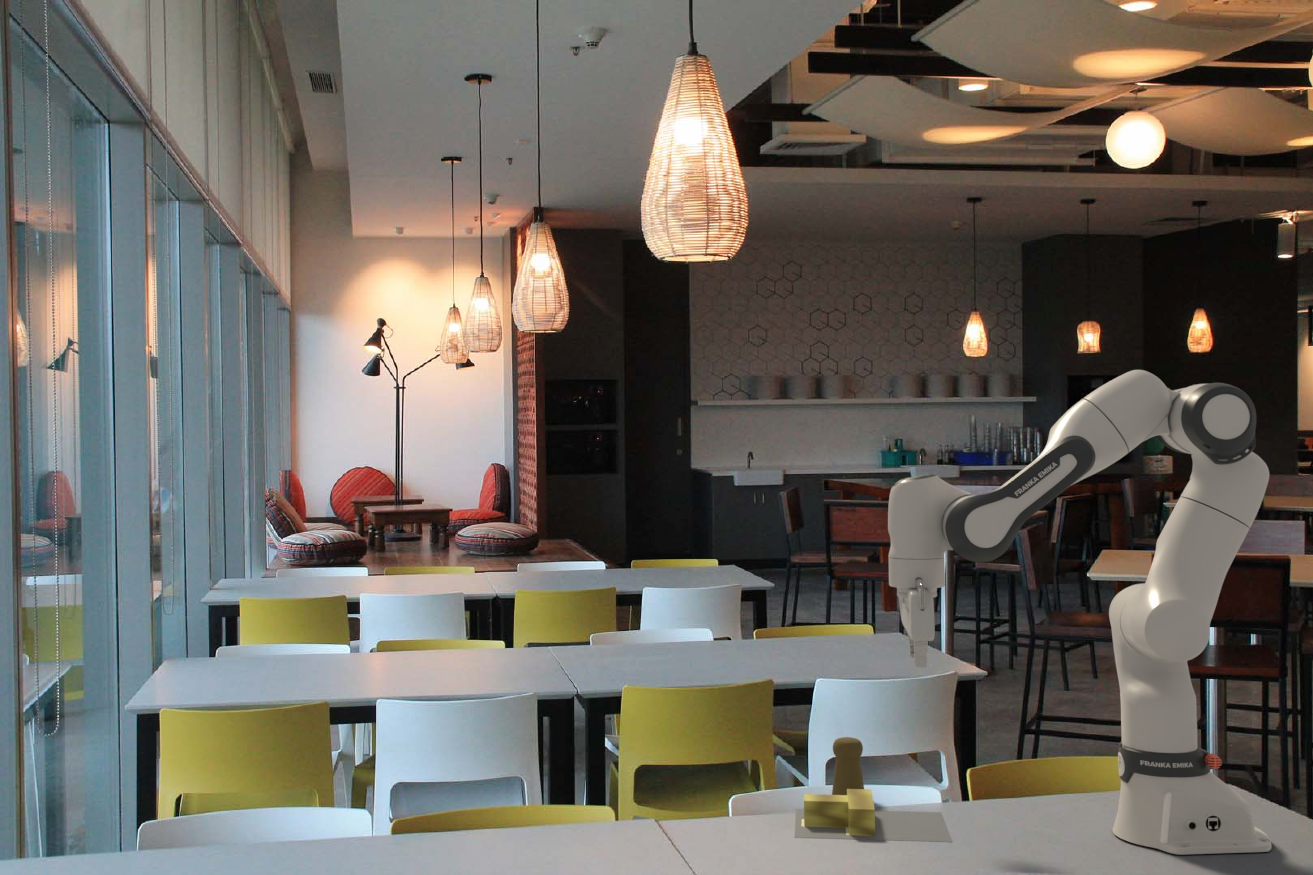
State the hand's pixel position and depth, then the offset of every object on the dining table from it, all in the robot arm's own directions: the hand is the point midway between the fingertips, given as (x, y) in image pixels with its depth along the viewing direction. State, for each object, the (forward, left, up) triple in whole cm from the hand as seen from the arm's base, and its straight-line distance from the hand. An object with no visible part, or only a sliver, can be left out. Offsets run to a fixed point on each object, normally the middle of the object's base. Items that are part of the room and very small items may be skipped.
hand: (918, 661), depth 193 cm
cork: (+11, -17, -27) cm, 34 cm away
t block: (+13, 0, -26) cm, 29 cm away
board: (+8, 0, -27) cm, 28 cm away
